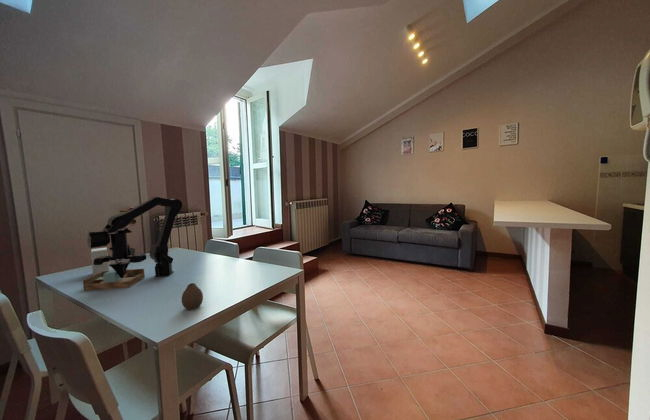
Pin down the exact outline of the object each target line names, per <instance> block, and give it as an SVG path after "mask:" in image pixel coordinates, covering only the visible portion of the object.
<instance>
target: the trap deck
mask: <svg viewBox="0 0 650 420" xmlns="http://www.w3.org/2000/svg"><path fill="white" fill-rule="evenodd" d="M112 271H115V270H114V269H113V270H112ZM106 272H108V271H102V272H100V273H98V274H96V275H94V276H93V275H91V276H89V277H87V278H85V279H83V280H82V284H83V291H94V290H95V291H97V290H98V291H99V290H109V289H124V288H131V287H132V286H134V285H136V284H138V283H139V282H140V281H142V280H143V279H145V277H146V276H145V275H146V273H145V268H133V269H130V268H129V269H126V272H125V275H124V277H123V278H121V279H120V280H118V281H116V282H109V283H104V279H103V274H104V273H106Z"/></svg>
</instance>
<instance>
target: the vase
mask: <svg viewBox="0 0 650 420" xmlns="http://www.w3.org/2000/svg"><path fill="white" fill-rule="evenodd" d="M203 301H204V295H203V292H202V290H201V288H199V286H197V284H196V283H193V282H192V283H188V285H186V288H185V290H184V291H183V292H182V295H181V304H182V306H183V308H185V310H187V311H194V310H197V309H198V308H200V307H201V306H202V303H203Z"/></svg>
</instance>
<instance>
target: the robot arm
mask: <svg viewBox="0 0 650 420" xmlns="http://www.w3.org/2000/svg"><path fill="white" fill-rule="evenodd" d="M183 205H184V204H183V201H181V200H180V199H177V198H163V197H160V196H152V197H151V198H150V199H148V200H146V201H144V202H142V203H140V204H138V205H137V206H134V207H133V208H131V209H129V210H127V211H124V212H121V213H118V214H116V215H112V216H110V217H109V218H108V219H107V224H106V225H105V226H104V228H103V229H101V230H99V231H88V232H87V234H88V235H87V238H86V244H87V247H88V248H89V249H96V248H103V247H107V246H108V245H109V244H110V247H109V251H111V255H108V256H100V257H98V258H95V259H94V261H93V264H94V265H102V264H103V263H104V262H108V266H109V267H111V268H112V269H113V270H115V271H116V272H117V274H118V275H119V276H120V278H123V277H124V275H125V272H126V270H128V267H129V265H130V264H131V263H132V264H134V263H136V264H137V263H142V262H143V261H145V260H147V254H145V253H136V248H133V247H130V244H128V238H127V237H128V236H127V235H128V234H131V233H132V232H133V231H132V230H131V229H129V228H128V227H127V226H128V225H130V224H131V223H132V222H133V221H135V219H136V218H138V217H140V216H141V215H143V214H145V213H146V212H148V211H150V210H151V209H153V208H156V207H157V206H161V207H164V214H165V215H164V219H163V221H162V225H161V228H160V231H159V234H158V238H157V241H156V242H155V244H154V245H153V244H152V245H151V246H150V250H149V251H148V254H149V258H150V259H151V260H153V261H154V263H155V266H154V274H155V275H154V277H155V278H157V277H169V276H171V275H172V274H174V272H175V271H174V270H173V265H172V264H173V260H174V258H173V257H172V256H170V255H169V244H168V243H169V240H170V237H171V235H172V230H173V227H174V223H175V221H176V220H175V219H176V217H177V216H178V215H179V213H180V212H181V210H182V208H183Z"/></svg>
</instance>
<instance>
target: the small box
mask: <svg viewBox="0 0 650 420" xmlns="http://www.w3.org/2000/svg"><path fill="white" fill-rule="evenodd" d="M100 256H109V255H108V247H107V246H105V247H96V248H91V251H90V257H91V266H92V267H91V269H92V276H94V275H96V274H98V273H100V272H102V271H110V269H109V268H110V266H109V262H104V263H103V264H102V265H94V264H93V261H94V259H95V258H98V257H100Z"/></svg>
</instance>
